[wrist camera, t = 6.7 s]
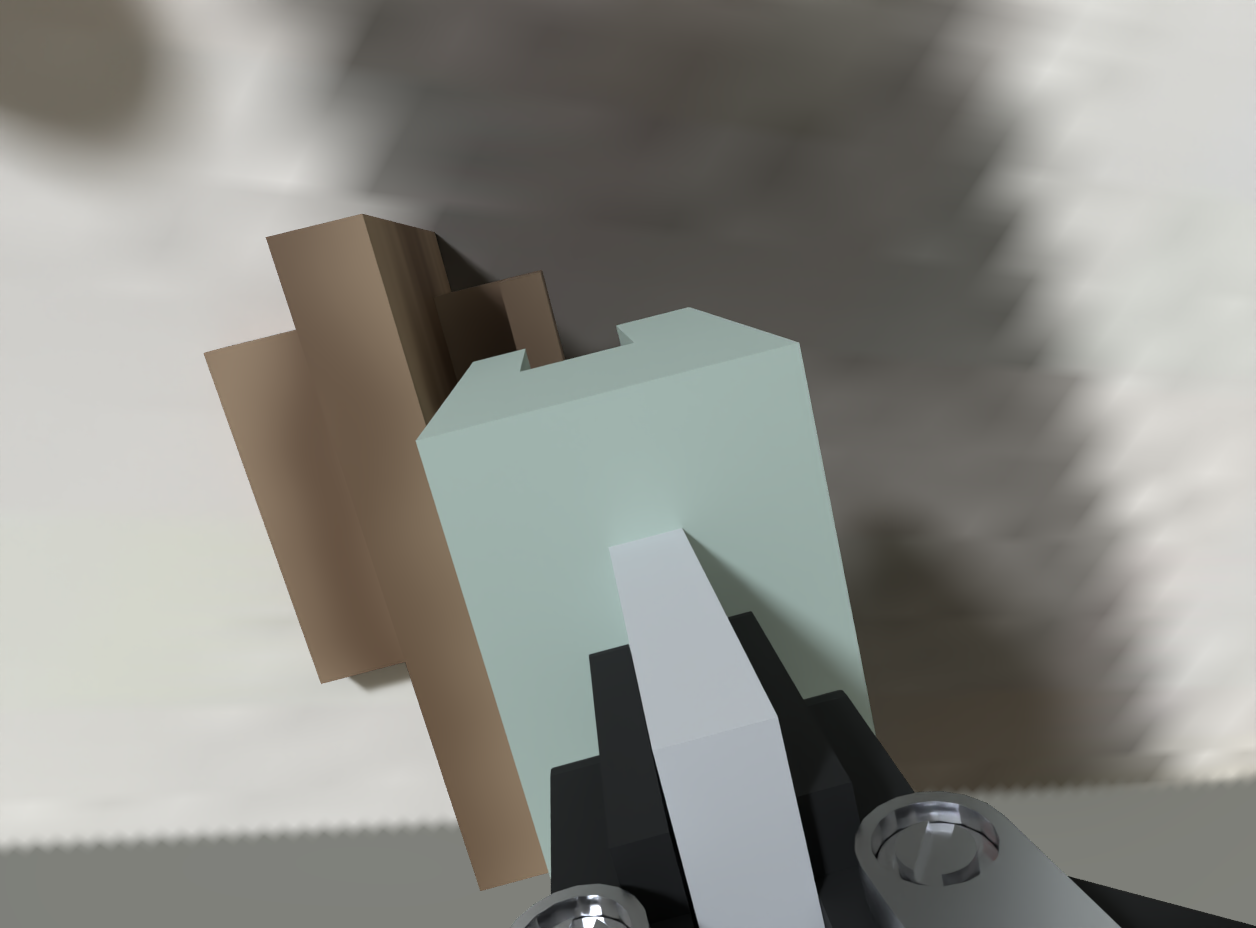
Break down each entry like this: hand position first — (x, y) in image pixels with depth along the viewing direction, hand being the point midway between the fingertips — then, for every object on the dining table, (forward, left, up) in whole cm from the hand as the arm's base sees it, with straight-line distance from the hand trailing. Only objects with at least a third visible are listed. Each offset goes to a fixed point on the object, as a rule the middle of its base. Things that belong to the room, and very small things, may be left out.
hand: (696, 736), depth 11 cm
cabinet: (0, 0, -10) cm, 10 cm away
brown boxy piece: (+6, 0, -21) cm, 22 cm away
